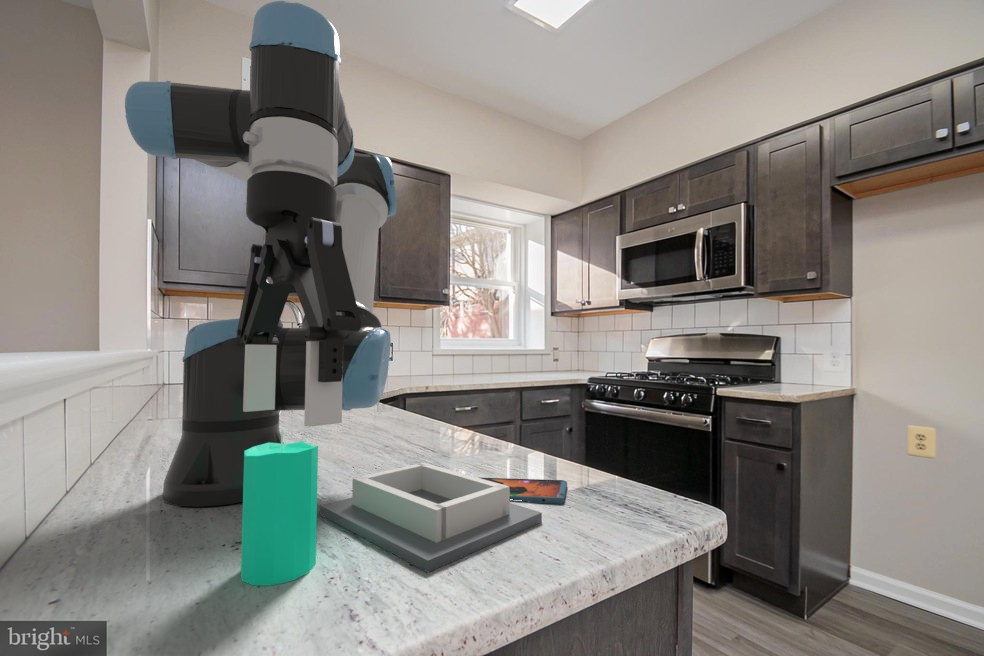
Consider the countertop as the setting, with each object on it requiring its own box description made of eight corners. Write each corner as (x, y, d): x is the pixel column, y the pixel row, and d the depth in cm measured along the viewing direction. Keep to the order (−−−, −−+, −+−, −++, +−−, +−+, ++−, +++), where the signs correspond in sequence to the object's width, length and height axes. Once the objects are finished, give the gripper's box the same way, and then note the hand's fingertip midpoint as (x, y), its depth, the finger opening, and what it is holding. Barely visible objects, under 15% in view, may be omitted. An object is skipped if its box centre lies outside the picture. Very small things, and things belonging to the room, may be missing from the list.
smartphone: (465, 476, 68) (567, 479, 64) (465, 486, 67) (567, 489, 64) (447, 491, 60) (563, 496, 56) (447, 502, 59) (563, 507, 56)
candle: (312, 580, 38) (315, 434, 38) (231, 590, 36) (236, 438, 37) (318, 549, 44) (320, 423, 44) (248, 557, 42) (252, 426, 42)
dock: (320, 514, 53) (320, 479, 53) (428, 484, 64) (429, 456, 65) (427, 572, 39) (428, 524, 39) (541, 521, 51) (541, 485, 51)
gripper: (207, 204, 48) (199, 409, 46) (316, 118, 31) (308, 439, 29) (280, 219, 53) (275, 403, 52) (408, 154, 36) (405, 426, 35)
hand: (287, 417), depth 41 cm, fingers open, 13 cm apart
